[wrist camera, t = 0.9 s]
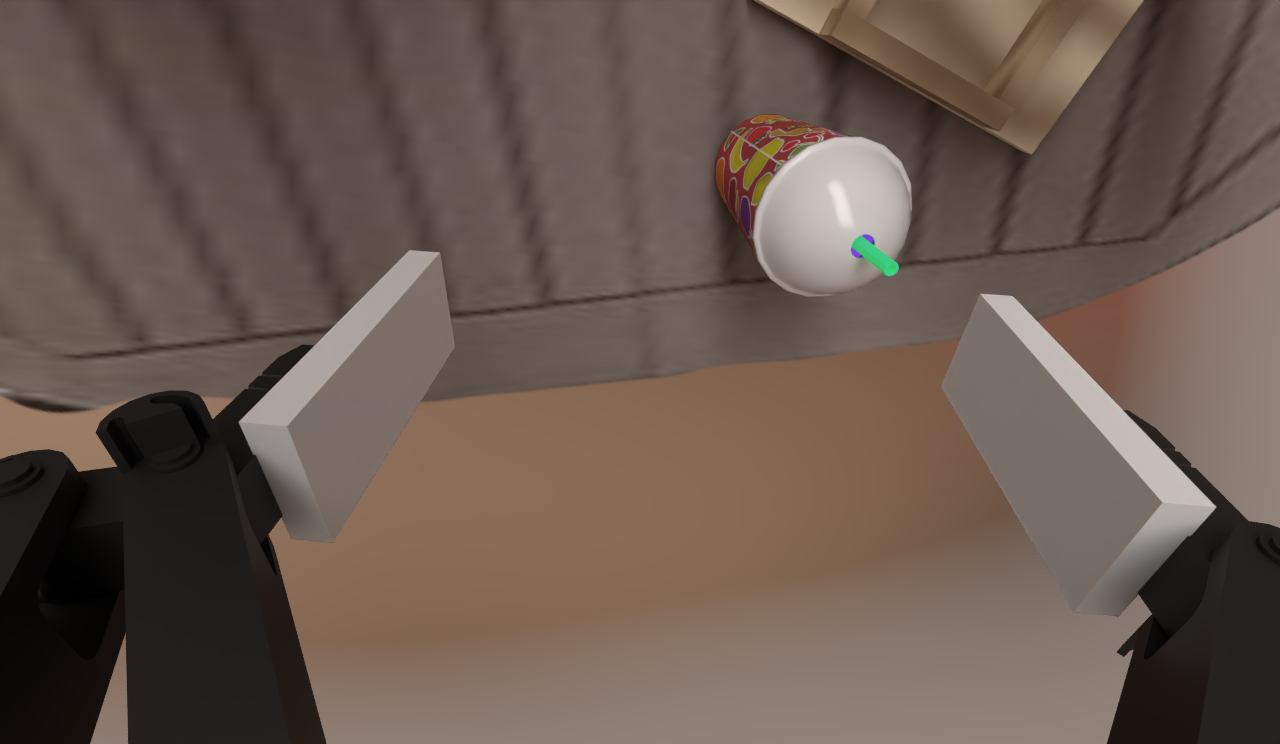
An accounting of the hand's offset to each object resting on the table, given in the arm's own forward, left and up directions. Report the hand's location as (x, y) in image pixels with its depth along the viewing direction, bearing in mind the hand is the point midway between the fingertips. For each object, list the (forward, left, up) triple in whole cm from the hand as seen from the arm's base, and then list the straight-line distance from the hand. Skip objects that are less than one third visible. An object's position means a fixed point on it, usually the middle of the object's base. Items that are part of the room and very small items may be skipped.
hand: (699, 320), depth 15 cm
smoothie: (+5, +10, -29) cm, 31 cm away
